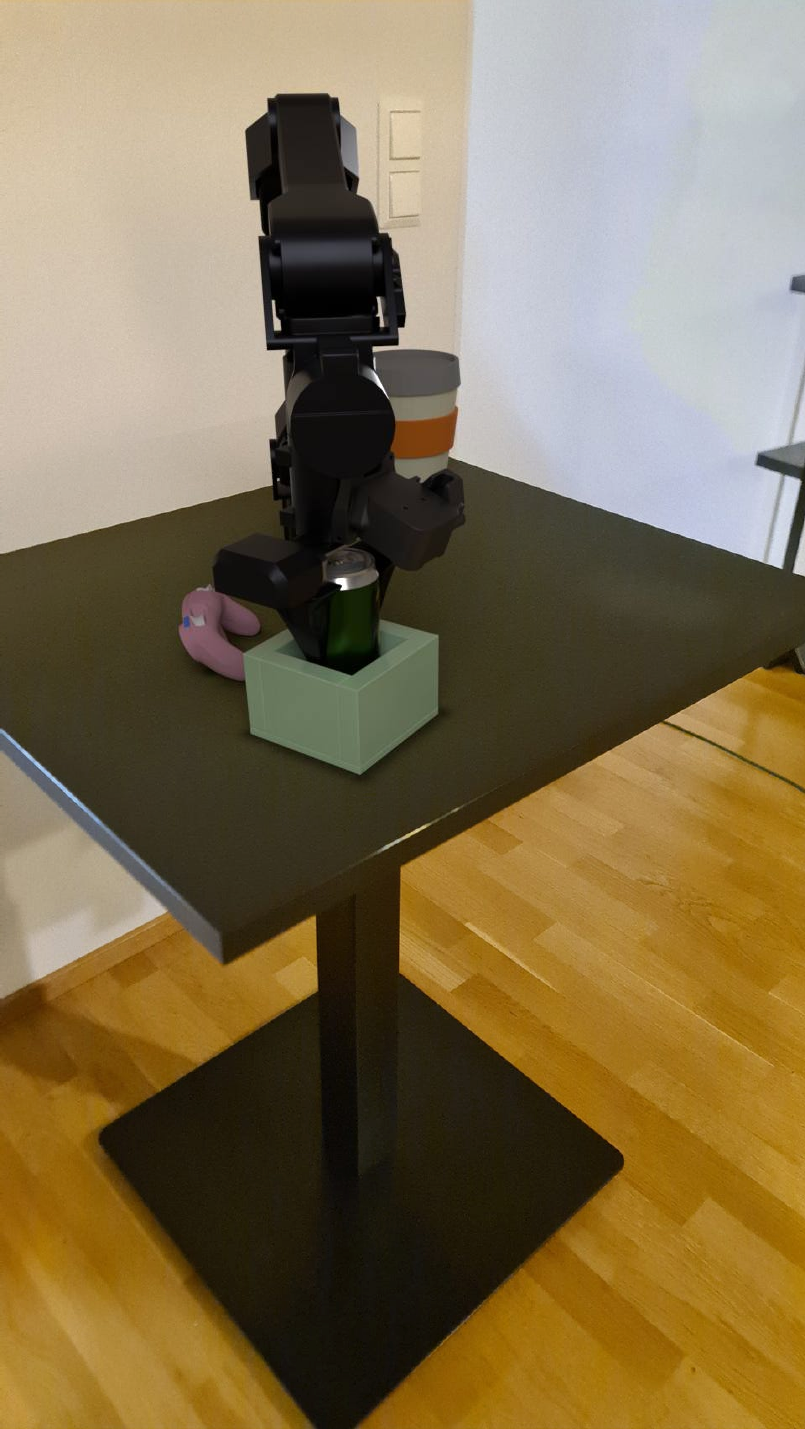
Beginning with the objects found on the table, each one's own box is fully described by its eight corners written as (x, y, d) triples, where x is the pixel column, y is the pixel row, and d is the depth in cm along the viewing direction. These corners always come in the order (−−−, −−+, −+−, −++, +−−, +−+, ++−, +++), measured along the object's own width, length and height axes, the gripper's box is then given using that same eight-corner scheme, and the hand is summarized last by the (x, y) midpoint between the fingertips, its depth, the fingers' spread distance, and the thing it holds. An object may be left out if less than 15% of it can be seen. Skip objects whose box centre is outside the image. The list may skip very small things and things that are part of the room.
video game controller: (220, 649, 90) (176, 585, 87) (265, 625, 90) (222, 560, 86) (212, 703, 82) (162, 635, 79) (261, 678, 81) (213, 608, 78)
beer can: (332, 739, 72) (324, 582, 66) (296, 708, 76) (285, 557, 70) (395, 717, 75) (393, 564, 69) (358, 688, 79) (352, 541, 73)
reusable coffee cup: (461, 472, 130) (463, 349, 123) (456, 503, 119) (458, 371, 112) (363, 470, 131) (360, 348, 124) (350, 501, 121) (345, 370, 113)
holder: (250, 733, 75) (242, 653, 72) (333, 679, 82) (329, 604, 79) (360, 775, 70) (357, 691, 67) (438, 713, 77) (439, 635, 74)
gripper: (345, 492, 55) (354, 740, 62) (514, 416, 68) (504, 629, 76) (193, 459, 60) (220, 691, 68) (377, 395, 73) (381, 596, 81)
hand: (341, 650), depth 73 cm, fingers closed on beer can, 5 cm apart
